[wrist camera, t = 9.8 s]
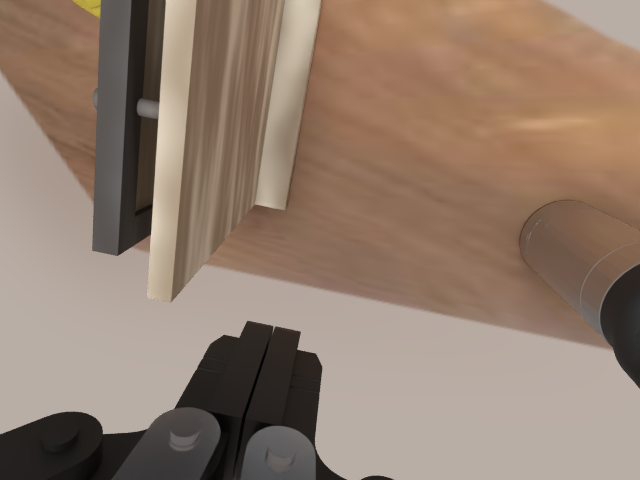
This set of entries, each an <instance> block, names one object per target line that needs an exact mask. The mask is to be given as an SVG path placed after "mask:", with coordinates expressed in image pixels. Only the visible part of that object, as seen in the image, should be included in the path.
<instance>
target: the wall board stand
mask: <svg viewBox="0 0 640 480" xmlns="http://www.w3.org/2000/svg"><path fill="white" fill-rule="evenodd" d="M321 5H322V0H166V9H165V24H164V40H163V56H162V72H161V87H160V102H157V101H153V100H148V99H143V98H141V99H140V100H139V101H138V104H137V113H138V115H139V116H142V117H147V118H152V119H157V120H158V135H157V150H156V166H155V182H154V198H153V214H152V229H151V245H150V262H149V277H148V292H147V298H151V299H156V300H161V301H166V302H170V303H171V302H172V301H173V299H174V298H175V297H176V296H177V295H178V294H179V293H180V291H181V290H182V289H183V288H184V287H185V285H186V284H187V283H188V282H189V281H190V280H191V279H192V277H193V276H194V275H195V274H196V273H197V272H198V270H199V269H200V268H201V267H202V266H203V265H204V263H205V262H206V261H207V260H208V259H209V258H210V256H211V255H212V254H213V253H214V252H215V251H216V249H217V248H218V247H219V246H220V245H221V244H222V242H223V241H224V240H225V239H226V238H227V237H228V235H229V234H230V233H231V232H232V231H233V230H234V228H235V227H236V226H237V225H238V224H239V223H240V221H241V220H242V219H243V218H244V217H245V216H246V214H247V213H248V212H249V211H250V210H251V208H252V207H253V206H254V205H255V204H256V205H261V206H266V207H270V208H275V209H280V210H285V209H286V207H287V202H288V196H289V190H290V184H291V179H292V173H293V167H294V161H295V156H296V150H297V144H298V138H299V132H300V127H301V121H302V115H303V109H304V103H305V98H306V92H307V86H308V80H309V75H310V69H311V63H312V57H313V51H314V46H315V40H316V34H317V28H318V22H319V17H320V11H321Z"/></svg>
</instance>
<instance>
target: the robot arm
mask: <svg viewBox="0 0 640 480" xmlns="http://www.w3.org/2000/svg"><path fill="white" fill-rule="evenodd" d="M520 249H521V254H522V256H523V258H524V260H525V261H526V262H527V264H528V265H529V266H530V267H531V268H532V269H533V270H534V271H535V272H536V273H537V274H538V275H539V276H540V277H541V278H542V279H543V280H544V281H545V282H546V283H547V284H548V285H549V286H550V287H551V288H552V289H553V290H554V291H555V292H557V293H558V294H559V295H560V296H561V297H562V298H563V299H564V300H565V301H566V302H567V303H568V304H569V305H570V306H571V307H572V308H573V309H574V310H575V311H576V312H577V313H578V314H579V315H580V316H581V317H582V318H583V319H584V320H585V321H586V322H587V323H588V324H589V325H591V326H592V327H593V328H594V329H595V330H596V331H597V332H598V333H599V334H600V335H601V336H602V337H603V338H604V339H605V340H606V341H607V342H608V343H609V344H610V345H611V346H612V347H613V350H614V353H615V356H616V359H617V361H618V362H619V364H620V366H621V367H622V368H623V370H624V371H625V372H626V373H627V374H628V376H629V377H630V378H631V379H632V380H633V381H634V382H635V383H636V385H637V386H638V387H639V388H640V230H638V229H636V228H634V227H632V226H630V225H628V224H626V223H624V222H622V221H619V220H617V219H615V218H613V217H611V216H609V215H607V214H605V213H603V212H601V211H599V210H597V209H595V208H592V207H590V206H588V205H586V204H584V203H582V202H578V201H573V200H562V201H557V202H553V203H550V204H548V205H546V206H544V207H542V208H541V209H539V210H538V211H536V212H535V213H534V214H533V215H532V216H531V217H530V218H529V220H528V221H527V222H526V224H525V226H524V228H523V230H522V233H521V237H520ZM300 333H301V332H299V331H294V330H290V329H285V328H281V327H275V329H274V332H273V326H271V325H266V324H261V323H256V322H251V321H247V323H246V325H245V327H244V329H243V331H242V333H241V336H240V338H237V337H232V336H227V335H223V336H222V337H220V338H219V339H217V340H216V341H214V342H213V343H211V344H210V346H209V348H208V349H207V351H206V353H205V355H204V357H203V359H202V360H201V362H200V364H199V365H198V368H197V370H196V371H195V373H194V374H193V376H192V378H191V380H190V382H189V383H188V385H187V387H186V389H185V391H184V392H183V394H182V396H181V398H180V399H179V401H178V403H177V405H176V407H175V408H174V409H173V410H170V411H168V412H165V413H163V414H162V415H160V416H159V417H158V418H156V419H155V420H154V421H153V423H152V424H151V425H150V427H149V428H148V429H146V430H143V431H138V432H131V433H117V434H103V430H102V426H101V424H100V422H99V421H98V420H97V419H96V418H94V417H93V416H91V415H89V414H86V413H82V412H62V413H57V414H53V415H50V416H47V417H44V418H42V419H39V420H37V421H34V422H31V423H29V424H26V425H24V426H21V427H18V428H16V429H13V430H11V431H8V432H6V433H3V434H0V480H346V479H344V478H342V477H340V476H339V475H337V474H335V473H334V472H333V471H331V470H330V469H329V468H328V467H327V466H326V465H325V464H324V463H323V462H322V460H321V459H320V457H319V455H318V454H317V451H316V447H315V432H316V422H317V413H318V403H319V392H320V385H321V384H320V383H321V375H322V365H321V363H320V361H319V359H318V357H317V355H316V354H315V353H310V352H305V351H300V350H297V348H298V343H299V338H300ZM272 334H273V335H272ZM361 480H393V479H391V478H388V477H384V476H369V477H365V478H363V479H361Z"/></svg>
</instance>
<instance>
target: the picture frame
mask: <svg viewBox="0 0 640 480" xmlns="http://www.w3.org/2000/svg"><path fill="white" fill-rule="evenodd" d="M165 9H166V0H101V8H100V38H99V68H98V88H96V89H95V91H94V93H93V104H94V107H95V108H96V109H97V127H96V156H95V186H94V216H93V246H92V250H93V251H97V252H102V253H107V254H111V255H116V256H118V255H120V254H121V253H123V252H124V251H126V250H128V249H129V248H131V247H132V246H134V245H135V244H137V243H138V242H140V241H141V240H143V239H145V238H146V237H148V236H149V235H151V229H152V214H153V198H154V182H155V166H156V150H157V135H158V120H157V119H152V118H147V117H142V116H139V115H138V113H137V104H138V101H139V100H140V99H141V98H143V99H148V100H153V101H157V102H160V87H161V72H162V56H163V40H164V24H165Z"/></svg>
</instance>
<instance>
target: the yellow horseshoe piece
mask: <svg viewBox="0 0 640 480" xmlns="http://www.w3.org/2000/svg"><path fill="white" fill-rule="evenodd" d="M73 1H74V3H76V4H77V5H79V6H80V7H82V8H83V9H85V10H86V11H88V12H90V13H91V14H93V15H94V16H96V17H97V18H99V19H100V8H101V0H73Z"/></svg>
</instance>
